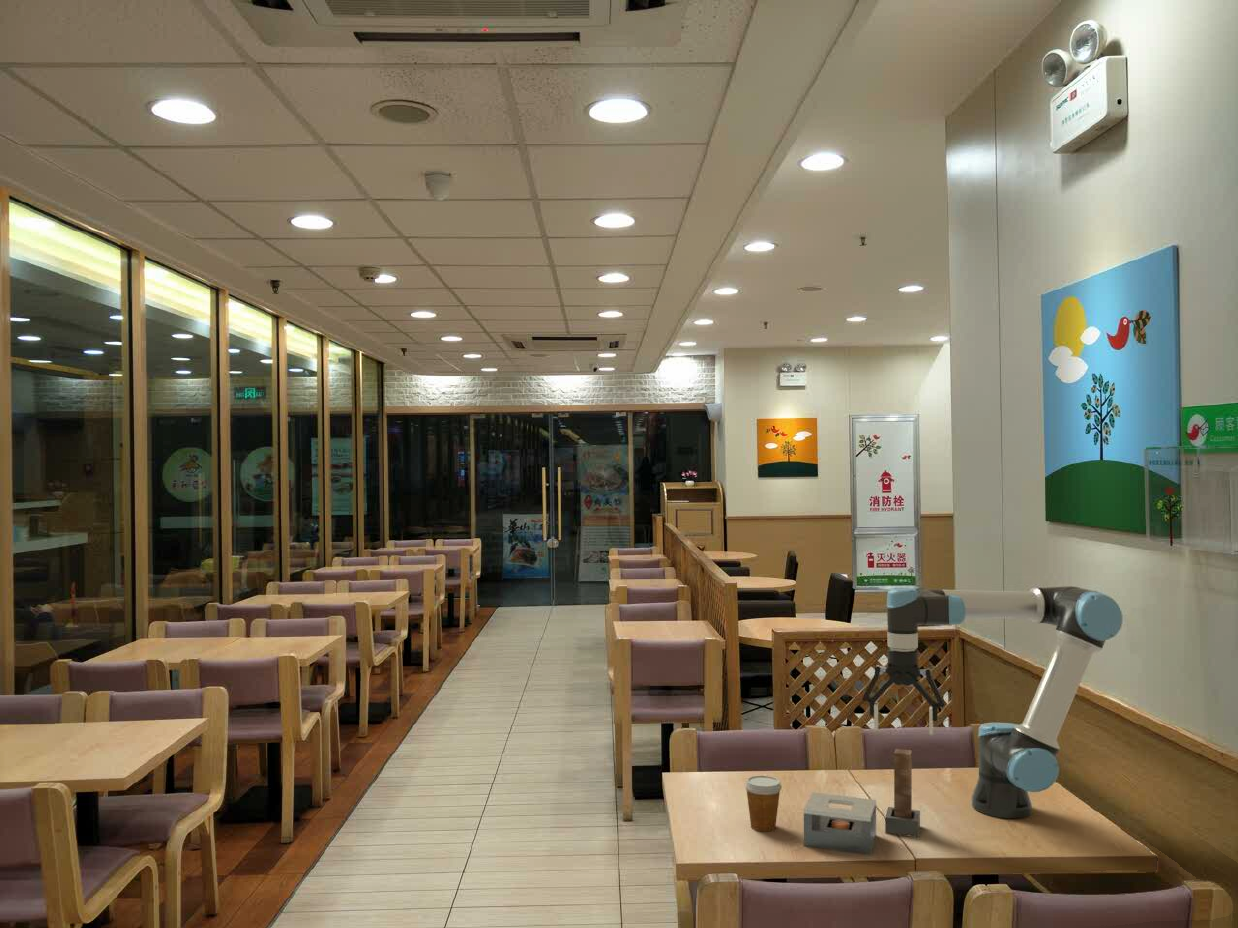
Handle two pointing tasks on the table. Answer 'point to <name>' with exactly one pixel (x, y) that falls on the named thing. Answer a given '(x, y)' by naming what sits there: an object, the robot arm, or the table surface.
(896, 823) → the gray square socket
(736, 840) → the table surface
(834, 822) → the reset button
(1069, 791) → the table surface
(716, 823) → the table surface
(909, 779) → the brown wooden bar
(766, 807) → the disposable coffee cup
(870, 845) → the box
